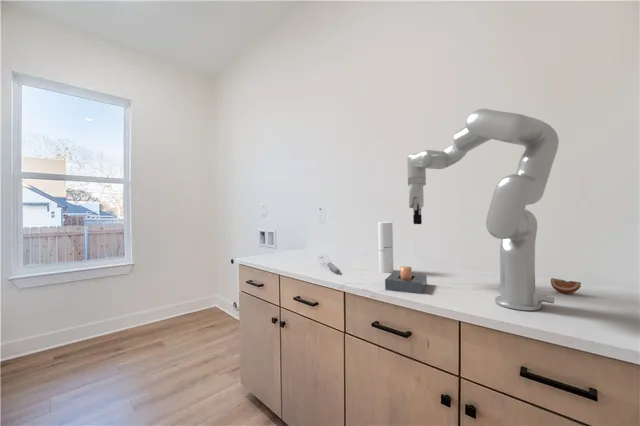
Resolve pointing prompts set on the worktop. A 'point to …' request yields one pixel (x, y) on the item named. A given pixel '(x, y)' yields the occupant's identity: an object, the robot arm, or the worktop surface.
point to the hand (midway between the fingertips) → (417, 223)
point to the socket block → (406, 283)
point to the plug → (406, 272)
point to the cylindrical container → (385, 246)
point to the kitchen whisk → (331, 266)
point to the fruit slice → (565, 285)
